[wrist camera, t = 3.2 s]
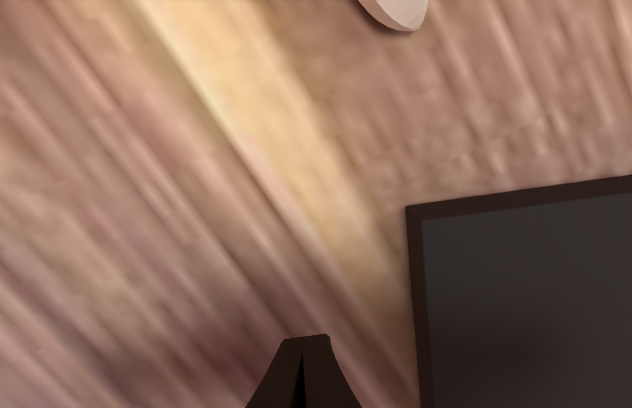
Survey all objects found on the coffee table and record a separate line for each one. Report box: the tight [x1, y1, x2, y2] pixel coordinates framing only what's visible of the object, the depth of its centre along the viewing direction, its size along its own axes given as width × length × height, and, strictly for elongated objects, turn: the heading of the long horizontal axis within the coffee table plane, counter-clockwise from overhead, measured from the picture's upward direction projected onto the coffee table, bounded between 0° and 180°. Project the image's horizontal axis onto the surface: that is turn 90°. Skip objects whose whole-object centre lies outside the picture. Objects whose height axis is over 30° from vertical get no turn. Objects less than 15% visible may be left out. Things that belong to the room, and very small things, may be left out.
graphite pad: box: [406, 175, 632, 408], centre depth 10 cm, size 10×8×2 cm
